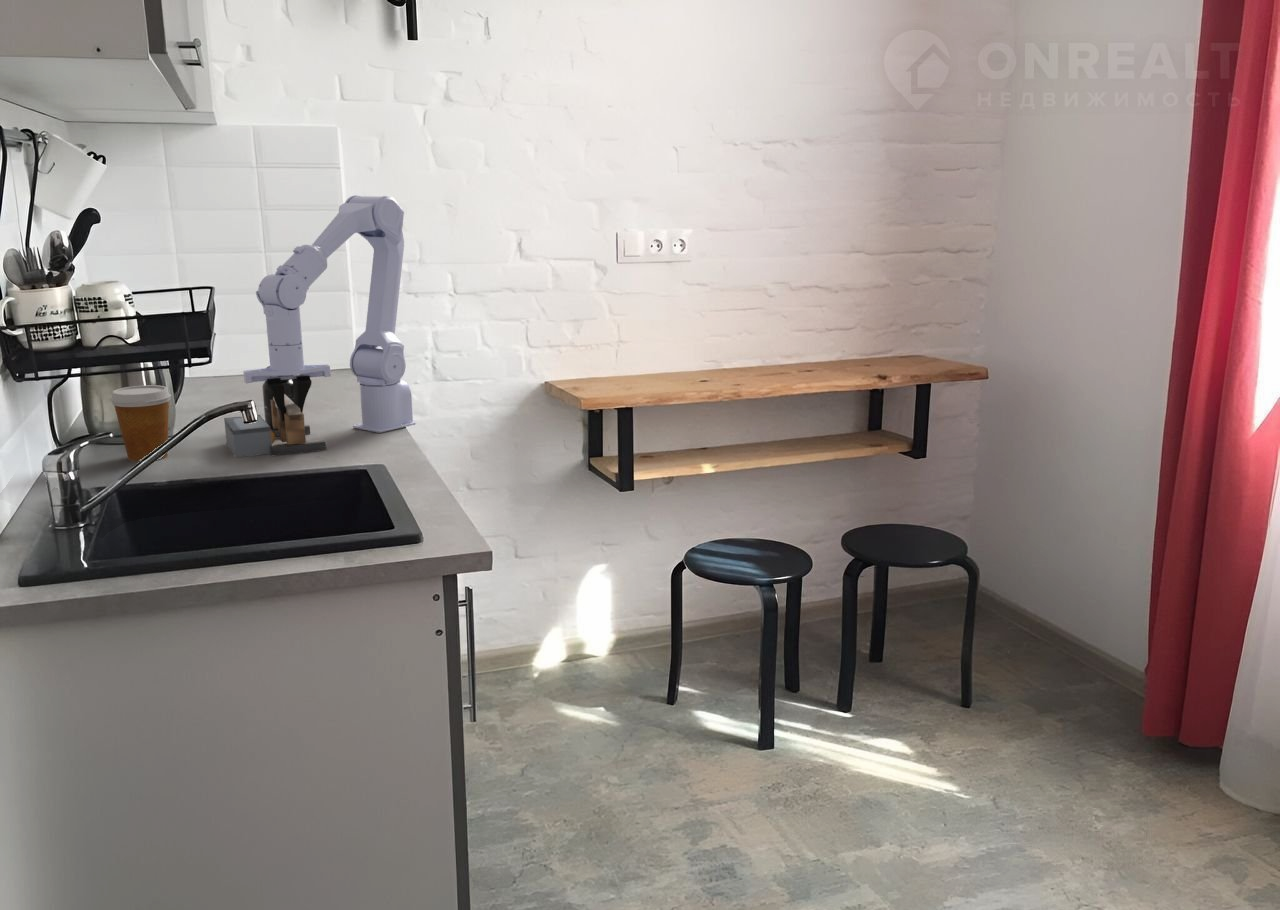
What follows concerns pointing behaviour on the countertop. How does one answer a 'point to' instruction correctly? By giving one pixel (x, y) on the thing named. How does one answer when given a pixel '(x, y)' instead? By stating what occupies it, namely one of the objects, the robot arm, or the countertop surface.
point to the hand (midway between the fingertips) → (291, 419)
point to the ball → (272, 436)
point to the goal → (247, 437)
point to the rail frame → (296, 445)
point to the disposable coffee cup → (142, 418)
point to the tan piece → (289, 422)
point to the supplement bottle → (268, 397)
